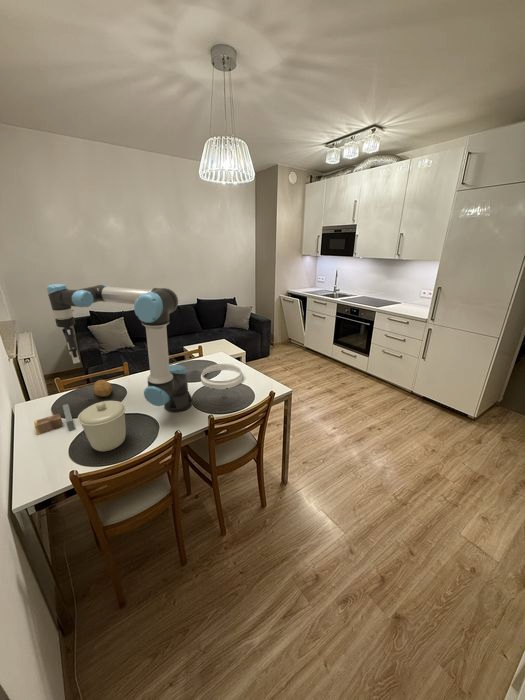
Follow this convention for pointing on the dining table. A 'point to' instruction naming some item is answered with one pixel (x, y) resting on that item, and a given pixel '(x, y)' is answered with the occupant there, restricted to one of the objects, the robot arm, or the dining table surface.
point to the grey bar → (68, 417)
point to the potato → (102, 388)
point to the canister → (104, 424)
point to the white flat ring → (221, 384)
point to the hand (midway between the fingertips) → (74, 358)
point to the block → (48, 424)
